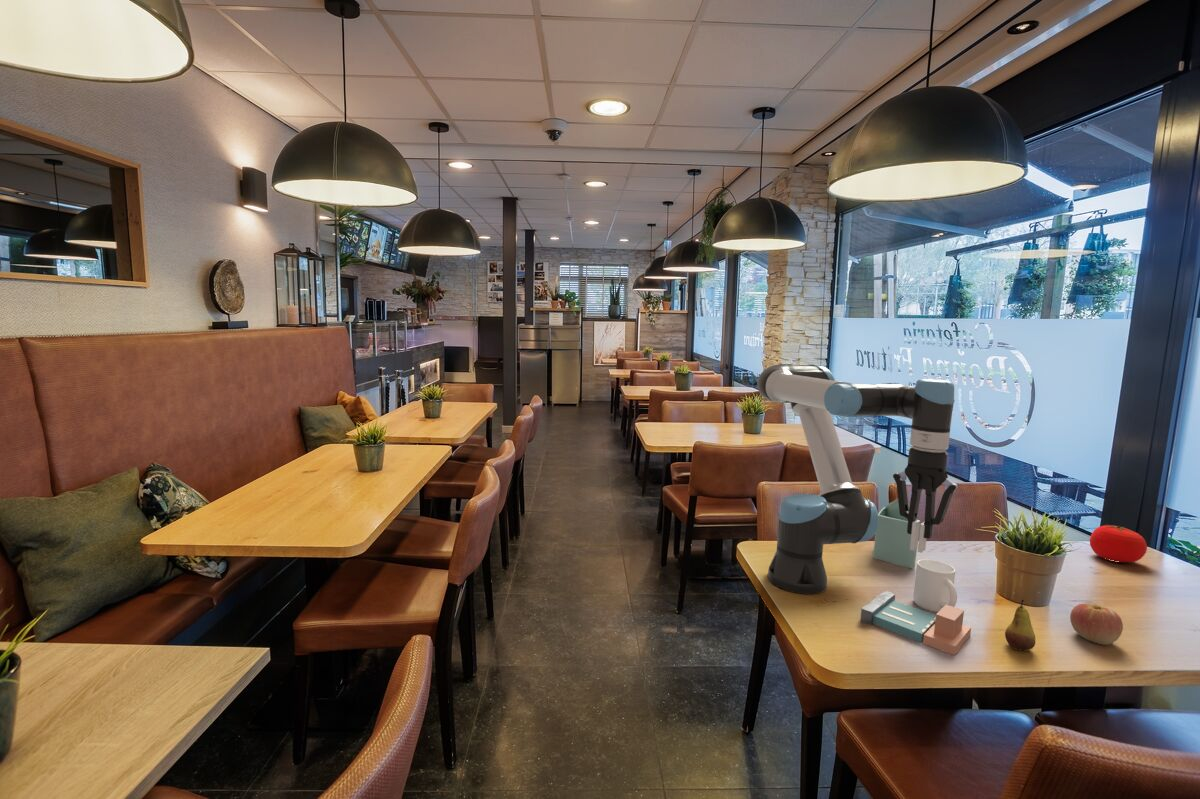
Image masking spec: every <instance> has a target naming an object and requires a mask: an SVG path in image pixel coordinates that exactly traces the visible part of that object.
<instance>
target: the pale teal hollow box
mask: <svg viewBox="0 0 1200 799" xmlns="http://www.w3.org/2000/svg"><path fill="white" fill-rule="evenodd" d="M909 507H910V503H908V508H909ZM878 517H879V523H878V528H877V529H876V533H875V535H874V543H873V544H874V545H873V555H872V558H873V559H877V560H879V561H882V562H886V563H889V564H893V565H898V566H901V567H904V568H908V569H912V570H914V569H915V570H916V562H917V561H916V560H917V553H918V547H917V548H916V549H915V550H910V542H911V534H908V533H907V526H908V519H907V518H906V517H904V516H901V515H900V512H899V503H898V497H897V498H896V499H893V501H891V502H889V503H888V504H886V505H884V506H883V507H882V509H881V510H880V511H878ZM916 520H918V519H917V518H916Z"/></svg>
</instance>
